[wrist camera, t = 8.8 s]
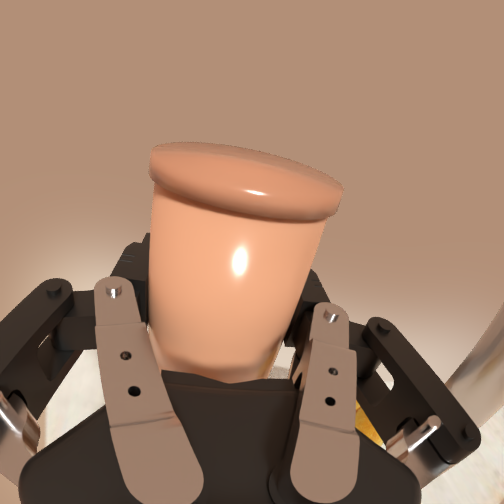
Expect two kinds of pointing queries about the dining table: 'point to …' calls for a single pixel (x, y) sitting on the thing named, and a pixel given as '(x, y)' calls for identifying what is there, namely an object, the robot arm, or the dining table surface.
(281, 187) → the jar
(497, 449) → the dining table surface
